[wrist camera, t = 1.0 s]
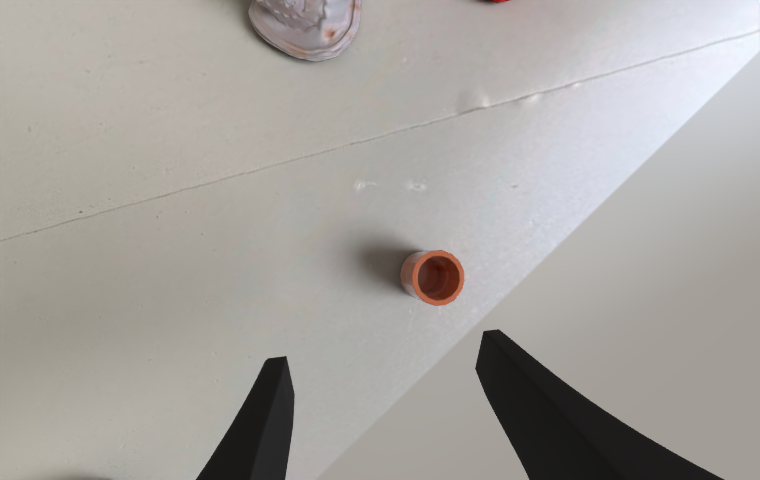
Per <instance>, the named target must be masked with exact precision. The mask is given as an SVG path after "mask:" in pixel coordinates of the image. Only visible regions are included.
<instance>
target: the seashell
mask: <svg viewBox="0 0 760 480" xmlns="http://www.w3.org/2000/svg"><path fill="white" fill-rule="evenodd" d="M360 14H361V0H252V2H251V5H250V7H249V17H250V20H251V23H252V25H253V27H254V29H255V30H256V32H257V33H258V34H259V35H260V36H261V37H262V38H263V39H264V40H265V41H266V42H268V43H269V44H271V45H272V46H274V47H276V48H278V49H280V50H281V51H283V52H285V53H287V54H289V55H291V56H294V57H296V58H300V59H306V60H310V61H315V62H318V61H322V60H327V59H331V58H335V57H337V56H339V55H340V54H341V53H342V52H343V51H344V50H345V49H346V48H347V47H348V46H349V45H350V44H351V42H352V41H353V39H354V38H355V35H356V33H357V30H358V27H359V21H360Z"/></svg>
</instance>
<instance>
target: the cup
mask: <svg viewBox="0 0 760 480" xmlns="http://www.w3.org/2000/svg"><path fill="white" fill-rule="evenodd" d="M400 278H401V283H402V285H403V287H404V289H405V290H406V291H407V292H408V293H409V294H410V295H411V296H413V297H415V298H417V299H419V300H421V301H423V302H425V303H428V304H431V305H434V306H439V305H446V304H448V303H450V302H452V301H454V300H455V299H456V298H457V296H458V295H459V294H460V293H461V291H462V288H463V285H464V270H463V268H462V266H461V264H460V262H459V260H458V259H457V258H455V257H454V256H453V255H452V254H451V253H448V252H445V251H442V250H438V251H420V252H416V253H414V254H412V255H410V256H409V257H408V258H407V259H406V260H405V261H404V263H403V265H402V268H401V272H400Z"/></svg>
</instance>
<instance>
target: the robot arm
mask: <svg viewBox="0 0 760 480" xmlns="http://www.w3.org/2000/svg"><path fill="white" fill-rule="evenodd" d="M475 369H476V371H477V374H478V377H479V379H480V382H481V385H482V387H483V389H484V392H485V394H486V396H487V399H488V401H489V402H490V404H491V406H492V408H493V410H494V412H495V414H496V416H497V418H498V419H499V422H500V423H501V425H502V427H503V429H504V431H505V433H506V435H507V436H508V438H509V440H510V442H511V444H512V446H513V448H514V449H515V451H516V453H517V455H518V457H519V459H520V461H521V463H522V465H523V467H524V469H525V471H526V473H527V475H528V477H529V480H724V479H722V478H720V477H718V476H716V475H714V474H712V473H710V472H708V471H707V470H705V469H703V468H701V467H699V466H697V465H695V464H693V463H691V462H690V461H688V460H686V459H684V458H682V457H680V456H678V455H677V454H675V453H673V452H671V451H670V450H668V449H666V448H665V447H663V446H661V445H659V444H658V443H656V442H654V441H653V440H651V439H649V438H647V437H646V436H644V435H642V434H641V433H639V432H637V431H636V430H634V429H633V428H631V427H629V426H628V425H626V424H625V423H623V422H621V421H620V420H618V419H617V418H615V417H614V416H612V415H611V414H609V413H608V412H606V411H604V410H603V409H602V408H600V407H599V406H597V405H596V404H594V403H593V402H591V401H590V400H588V399H587V398H586V397H584V396H583V395H581V394H580V393H579V392H577V391H576V390H575V389H573V388H572V387H570V386H569V385H568V384H566V383H565V382H564V381H562V380H561V379H560V378H558V377H557V376H556V375H555V374H553V373H552V372H551V371H550V370H548V369H547V368H546V367H544V366H543V365H542V364H541V363H539V362H538V361H537V360H536V359H534V358H533V357H532V356H531V355H529V354H528V353H527V352H526V351H525V350H523V349H522V348H521V347H520V346H519V345H517V344H516V343H515V342H514V341H513V340H511V339H510V338H509V337H508V336H506V335H505V334H504V333H503V332H501V331H500V330H490V331H484V332H483V336H482V341H481V345H480V350H479V354H478V359H477V363H476V368H475ZM293 415H294V390H293V385H292V380H291V376H290V371H289V366H288V362H287V357H286V356H284V357H276V358H268V359H267V360H266V361H265V363H264V365H263V367H262V369H261V371H260V373H259V375H258V377H257V379H256V381H255V383H254V385H253V387H252V389H251V391H250V393H249V394H248V396H247V398H246V400H245V402H244V403H243V405H242V407H241V409H240V410H239V412H238V414H237V416H236V417H235V419H234V421H233V423H232V424H231V426H230V428H229V429H228V431H227V433H226V434H225V436H224V437H223V439H222V440H221V442H220V444H219V445H218V447H217V448H216V450H215V452H214V453H213V455H212V456H211V458H210V459H209V461H208V462H207V464H206V465H205V467H204V468H203V470H202V471H201V473H200V474H199V476H198V477H197V479H196V480H285V476H286V469H287V463H288V456H289V450H290V443H291V436H292V429H293Z"/></svg>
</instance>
